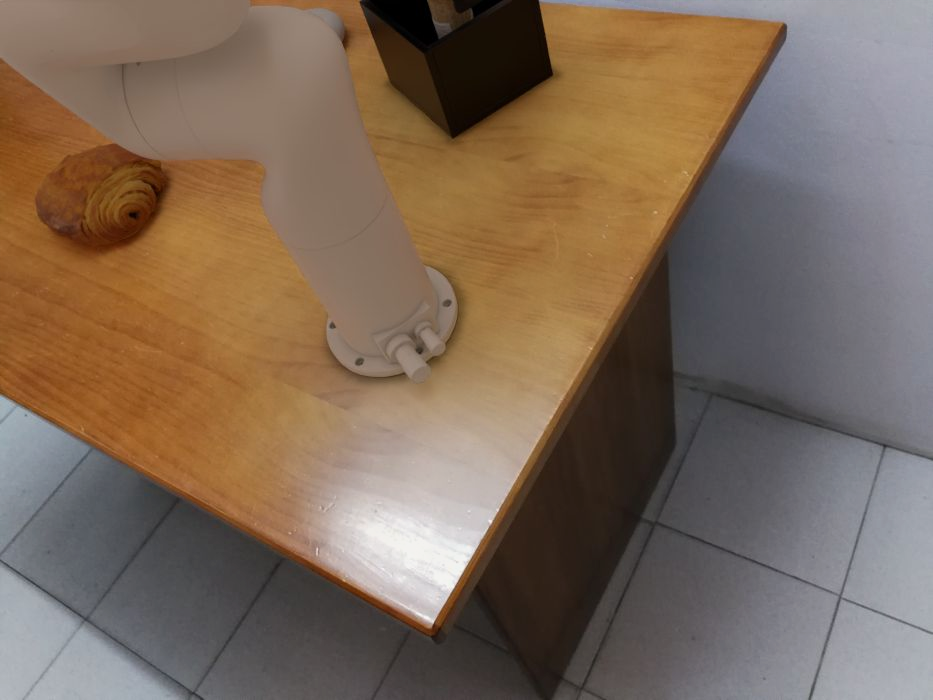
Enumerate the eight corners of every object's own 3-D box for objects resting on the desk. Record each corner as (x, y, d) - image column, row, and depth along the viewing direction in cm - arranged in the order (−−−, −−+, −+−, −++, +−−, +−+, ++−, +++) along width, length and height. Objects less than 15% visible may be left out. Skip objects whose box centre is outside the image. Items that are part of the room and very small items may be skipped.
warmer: (553, 75, 89) (536, -15, 80) (452, 138, 87) (424, 53, 78) (483, 26, 98) (461, -60, 89) (390, 83, 96) (358, 1, 87)
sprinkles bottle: (494, 80, 90) (465, -32, 79) (457, 95, 90) (422, -15, 79) (483, 59, 92) (453, -52, 82) (447, 73, 93) (412, -35, 82)
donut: (297, 27, 109) (265, 73, 104) (286, 4, 106) (253, 50, 101) (360, 25, 105) (330, 72, 100) (351, 1, 103) (320, 48, 98)
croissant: (113, 281, 91) (72, 239, 84) (36, 225, 97) (-8, 182, 90) (201, 195, 95) (169, 149, 88) (122, 147, 102) (86, 100, 95)
